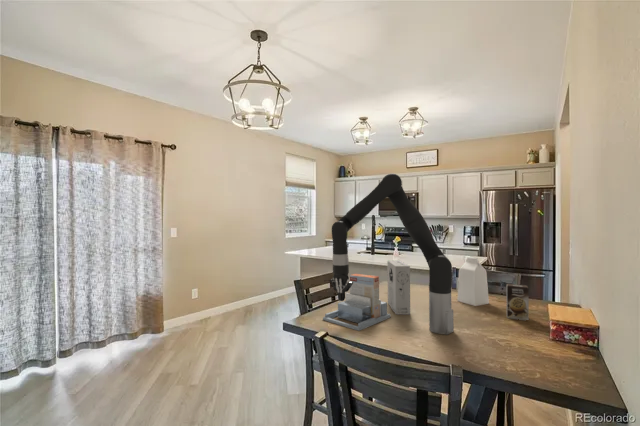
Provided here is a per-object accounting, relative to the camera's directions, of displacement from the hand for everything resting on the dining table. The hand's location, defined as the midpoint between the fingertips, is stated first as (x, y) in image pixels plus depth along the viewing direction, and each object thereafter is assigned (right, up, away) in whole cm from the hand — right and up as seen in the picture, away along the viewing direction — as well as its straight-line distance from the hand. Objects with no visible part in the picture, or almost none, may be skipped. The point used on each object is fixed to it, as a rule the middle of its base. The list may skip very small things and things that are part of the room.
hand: (341, 300), depth 149 cm
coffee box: (+88, -11, +8) cm, 89 cm away
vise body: (+8, -11, +9) cm, 16 cm away
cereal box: (+33, -12, +25) cm, 43 cm away
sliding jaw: (+7, -11, +7) cm, 15 cm away
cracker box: (+12, -12, +11) cm, 20 cm away
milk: (+79, -11, +37) cm, 88 cm away
